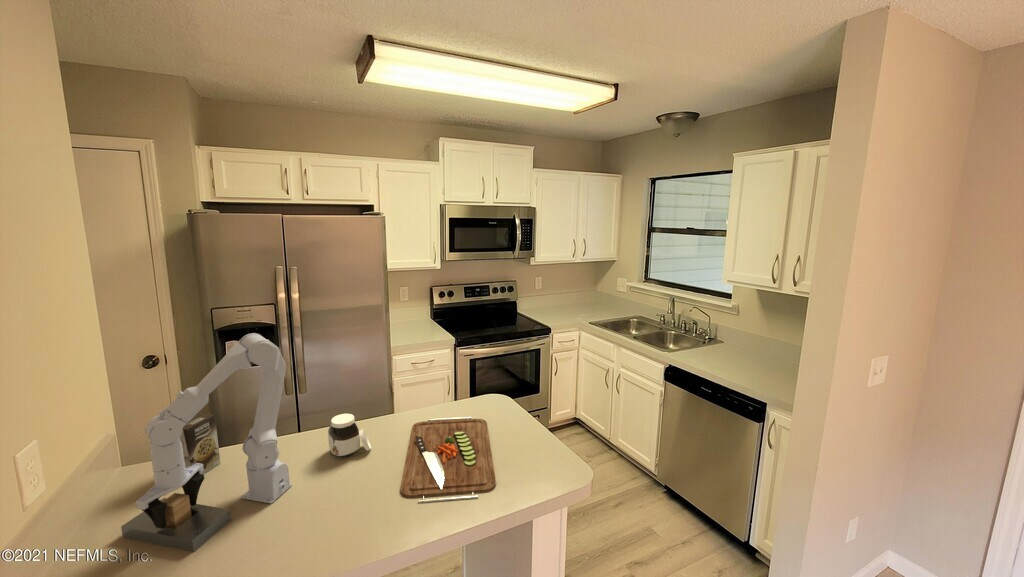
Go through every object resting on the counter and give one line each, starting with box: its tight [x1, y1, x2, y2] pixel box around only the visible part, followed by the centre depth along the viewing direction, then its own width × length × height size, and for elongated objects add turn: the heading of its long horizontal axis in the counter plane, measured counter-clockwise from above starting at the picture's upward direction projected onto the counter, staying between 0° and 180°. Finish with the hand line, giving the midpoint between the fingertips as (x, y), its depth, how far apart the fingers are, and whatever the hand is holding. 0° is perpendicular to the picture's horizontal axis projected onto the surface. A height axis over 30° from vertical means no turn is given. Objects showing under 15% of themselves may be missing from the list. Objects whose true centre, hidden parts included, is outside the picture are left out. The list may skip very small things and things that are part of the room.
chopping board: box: [399, 416, 497, 504], centre depth 133 cm, size 45×27×3 cm, turn 8°
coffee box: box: [180, 412, 221, 475], centre depth 121 cm, size 9×6×16 cm
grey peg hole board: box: [120, 497, 232, 553], centre depth 100 cm, size 20×10×3 cm, turn 79°
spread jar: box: [327, 413, 372, 459], centre depth 133 cm, size 12×11×12 cm
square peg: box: [162, 492, 192, 529], centre depth 100 cm, size 4×4×8 cm
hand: (176, 515), depth 100 cm, fingers open, 7 cm apart
